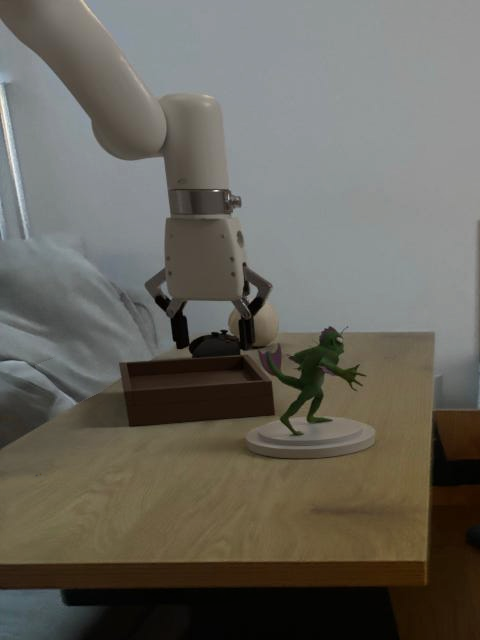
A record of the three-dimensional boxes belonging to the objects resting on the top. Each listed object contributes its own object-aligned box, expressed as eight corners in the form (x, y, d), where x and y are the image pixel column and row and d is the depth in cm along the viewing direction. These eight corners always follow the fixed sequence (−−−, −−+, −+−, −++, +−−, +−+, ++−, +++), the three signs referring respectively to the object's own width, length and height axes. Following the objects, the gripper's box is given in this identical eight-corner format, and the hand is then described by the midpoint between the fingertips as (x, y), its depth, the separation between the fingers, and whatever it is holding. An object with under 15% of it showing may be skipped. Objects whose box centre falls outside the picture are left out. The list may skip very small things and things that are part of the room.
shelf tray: (129, 426, 99) (123, 391, 97) (123, 393, 114) (118, 362, 112) (275, 414, 103) (271, 380, 102) (251, 384, 118) (248, 354, 117)
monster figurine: (399, 444, 91) (394, 330, 87) (281, 465, 85) (269, 343, 81) (337, 421, 100) (330, 316, 96) (226, 438, 94) (213, 327, 89)
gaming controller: (184, 347, 135) (213, 314, 134) (216, 374, 137) (244, 342, 137) (189, 359, 126) (219, 323, 126) (222, 387, 129) (252, 352, 128)
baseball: (233, 343, 147) (228, 296, 144) (282, 342, 147) (278, 295, 144) (227, 350, 141) (221, 301, 138) (279, 349, 141) (274, 300, 138)
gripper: (276, 205, 127) (286, 345, 134) (145, 204, 128) (162, 343, 136) (259, 207, 120) (270, 354, 127) (121, 205, 121) (140, 351, 129)
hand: (215, 348), depth 131 cm, fingers closed on gaming controller, 8 cm apart
